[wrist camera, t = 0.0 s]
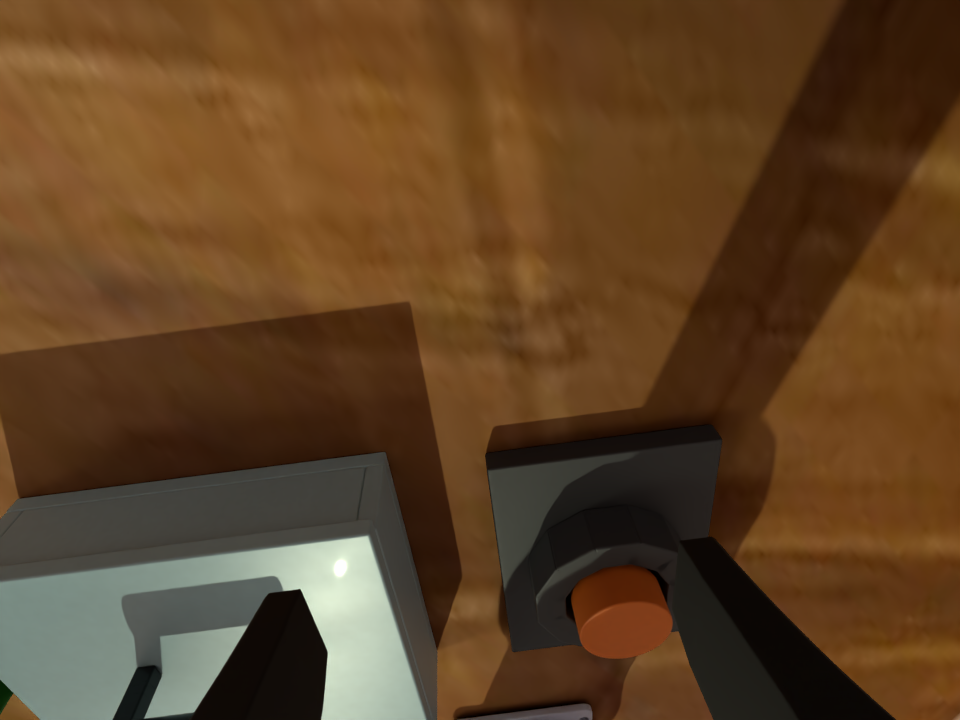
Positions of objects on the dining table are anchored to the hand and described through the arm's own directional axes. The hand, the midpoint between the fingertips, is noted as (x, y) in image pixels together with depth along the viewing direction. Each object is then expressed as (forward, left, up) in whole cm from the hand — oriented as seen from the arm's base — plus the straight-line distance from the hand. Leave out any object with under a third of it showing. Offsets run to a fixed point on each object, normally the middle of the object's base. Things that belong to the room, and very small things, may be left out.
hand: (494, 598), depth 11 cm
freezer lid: (-11, +11, -6) cm, 17 cm away
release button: (-11, -4, -7) cm, 14 cm away
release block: (-11, -4, -10) cm, 16 cm away
